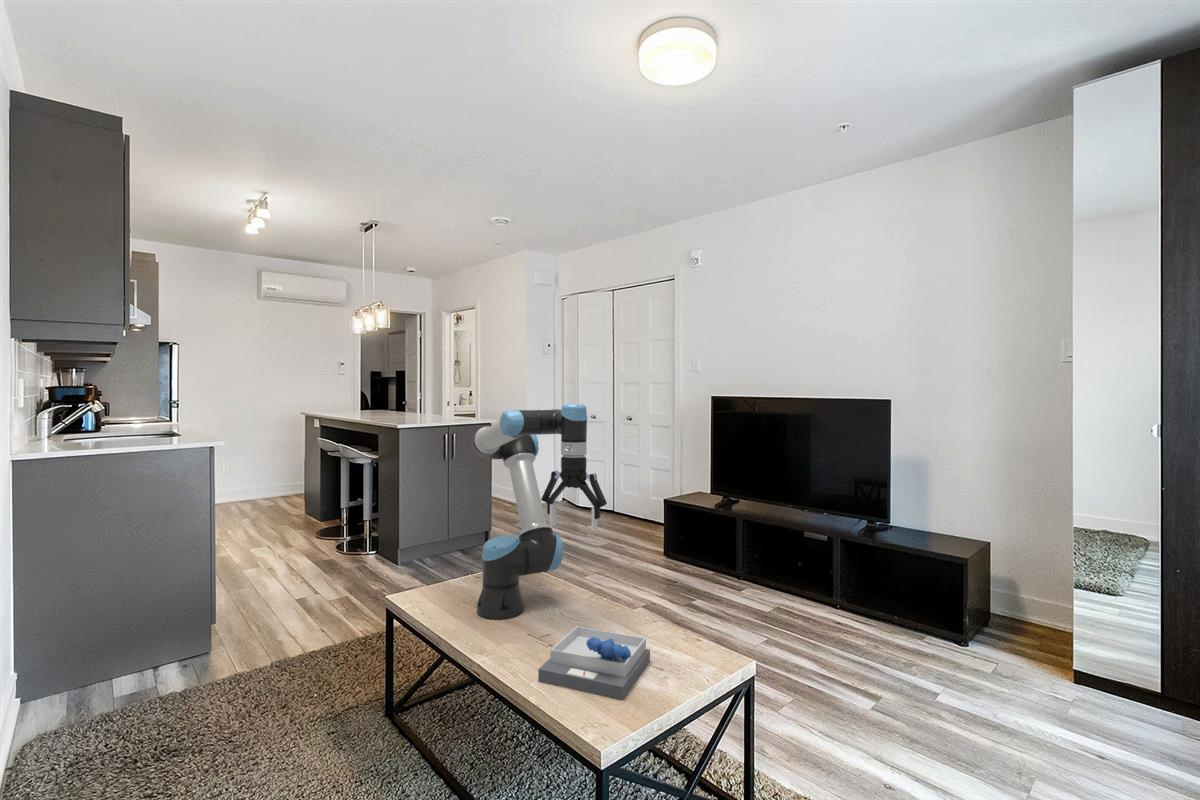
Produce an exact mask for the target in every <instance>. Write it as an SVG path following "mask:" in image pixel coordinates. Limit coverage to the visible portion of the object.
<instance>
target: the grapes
mask: <svg viewBox="0 0 1200 800" xmlns="http://www.w3.org/2000/svg"><path fill="white" fill-rule="evenodd" d="M586 645H587V647H588V648H589V650H590V651H591V650H593V651H594V652H597V653H598V654H600V655H601V657H600V659H605V660H610V661H612V658H613V659H616V658H619V657H621V659H622V660H625V659H627V658H629V657H630V656H631V652H630V650H629V648H628V647H627V646H623V647H622V646H621V644H619V645H618V643H617V644H615V643H614V641H613V640H612V638H610V639H608V640H606V641H600V639H599V638H595V637H592V638H589V639H588V640H587V641H586Z"/></svg>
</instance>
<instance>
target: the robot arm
mask: <svg viewBox="0 0 1200 800" xmlns="http://www.w3.org/2000/svg"><path fill="white" fill-rule="evenodd" d="M587 428H588V415H587V407H586V405H585V404H584V403H583V404H582V403H581V404H580V403H579V404H578V403H564V404H563V405H562V406H561V409H558V408H557V409H555V408H553V409H538V410H537V409H525V410H524V409H521V410H520V409H509V410H505V411H503V412H502V413H501V416H500V417H499V420H498V421H496V423H494V424H492V425H490V426H483V427H481V428H479V429H478V430H476V431H475V433H473V435H472V438H471V445H472V449H473V450H474V452H475V453H476V454H477V455H478V456H479V457H482V458H485V459H488V460H502V462H503V464H504V465H503V466H504V467H505V468H507V469H509V475H510V478H511V479H510V480H511V483H512V490H513V493H514V498H515V503H516V507H517V512H518V513H517V514H518V517H519V522H520V523H519V524H520V527H521V531H520V533H519V535H518V536H517V535H515V534H508V535H507V534H503V535H499V536H495V537H492V538H490V539H488V540H487V541H485V542H484V545H483V547H482V555H481V558H482V589H481V592H480V595H479V597H478V601H477V603H476V613H477V615H478V616H480V617H481V618H484V619H489V620H504V619H506V620H507V619H511V618H514V617H517V616H519V615H521V614H522V613H523V612H524V611H525V600H524V599H523V594H522V590H521V588H520V577H522V576H528V575H534V574H539V573H540V574H541V573H548V572H551V571H555V570H558V568H560V565H561V564H562V560H563V556H564V546H563V545H564V544H563V539H562V538H561V536H560V535H559V534H557V533H556V534H555V533H554V531H553V528H552V527H553V526H556V525H557V503H556V502H555V501H556V500H557V498H558V497H560V495H561V493H562V492H563V491H564V490H565V489H566V488H568V489H570V488H574V489H580V490H581V491H582V492H583V493H584V494H585V497H586V498H587V499H588V501H589V502H590V504H591V505H592V507H591V522H590V523H591V524H590V526H591V529H590V530H591V531H593V532H594V531H597V530H598V520H599V519H600V518H601V507H604V506H606V505H607V504H608V502H607V500H606V498H605V496H604V493H603V491H602V488H601V486H600V484H599V482H598V477H597V476H598V475H597V473H596V472H594V473H587V457H586V455H587V453H588V452H587V432H588V430H587ZM538 435H561V436H560V438H561V439H560V441H561V443H560V448H561V449H560V454H561V455H562V457H560V470H561V471H560V472H559V470H553V471H551V473H550V479H549V481H548V484H547V485H546V488H545V490H544V492H543V494H542V496H541V495H540V494H541V493H540V489H539V487H538V481H537V476H536V471H535V469H534V462H535V460H536V457H537V456H538V454H539V448H540V447H539V440H538V439H539V438H538V437H537V436H538ZM560 478H561V481H560V484H559V485H558V486H557V487H556V489H555V490H554V488H555V486H556V484H557V482H558V480H559V479H560ZM587 480H588V481H589V482H590V483H589V484H590V485H591V488H592V490H593V491H592V490H591V489H590V487H589V485H588V483H587V482H586V481H587ZM553 490H554V491H553ZM593 492H594V493H593ZM542 502H543V503H546V505H547V507H546V508H547V509H546V510H547V511H546V513H547V514H548V515H549V525H548V523H547V520H546V516H545V512H544V508H543V503H542Z"/></svg>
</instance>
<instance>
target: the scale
mask: <svg viewBox="0 0 1200 800" xmlns="http://www.w3.org/2000/svg"><path fill="white" fill-rule="evenodd" d="M592 637H595V638H599V639H600V641H606V640H608V639H610V638H612V640H613V641H614V643H615V644H617V643H618V645H619V644H621V646H622V647H623V646H627V647H628V648H629V650H630V652H631V656H630V657H629V658H627V659H625V660H622V659H621V657H619V658H616V659H613V658H612V661H610V660H605V659H600V657H601V655H600V654H598V653H597V652H594V651H593V650H591V651H590V650H589V648H588V647H587V645H586V641H587V640H588V639H589V638H592ZM650 662H651V650H650V649H648V648H647V638H646V637H642V636H636V635H630V634H624V633H618V632H613V631H608V630H601V629H595V628H590V627H584V626H579V625H577V626H576V627H573V629H572V630H571V631H569V632H568V633H567V634H566V635H565V636H564V637H563V638H562V639H561V640H560V641H558V642H557V643H556V644H555V645H554V646H553V647H551V649H550V658H549V659H548V660H547V661H545V662H544V663H543V664H542V665H541V666H540V667H539V668H538V669H537V672H538V673H537V674H538V675H537V677H538V682H540V683H544V682H545V684H548V683H549V685H553V684H554V685H553V686H557V685H559V686H558V687H562V686H564V688H566V687H568V689H572V690H575V689H576V691H579V692H580V691H581V692H586V693H589V694H593V695H598V696H602V697H607V698H612V699H617V700H621V701H623V700H625V698H626V697H627V694H629V692H630V690H631V689H632V688H633V686H634V685H635V683H636V682H637V681H638V679H639V677H641V674H642V673H643V672H644V670H645V669H646V668H647V666H648V664H649V663H650Z"/></svg>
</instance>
